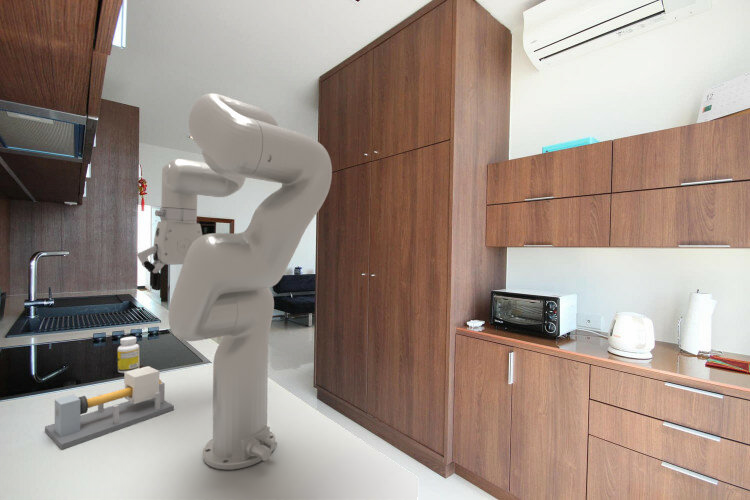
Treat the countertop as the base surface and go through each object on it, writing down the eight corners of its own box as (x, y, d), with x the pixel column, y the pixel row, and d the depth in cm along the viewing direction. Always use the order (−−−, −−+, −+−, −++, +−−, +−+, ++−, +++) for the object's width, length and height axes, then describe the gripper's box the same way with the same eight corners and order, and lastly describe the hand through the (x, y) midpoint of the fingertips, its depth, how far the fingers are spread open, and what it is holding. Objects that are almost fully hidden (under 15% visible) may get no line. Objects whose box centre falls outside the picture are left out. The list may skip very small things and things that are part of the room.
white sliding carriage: (148, 390, 85) (148, 366, 85) (159, 396, 82) (159, 371, 82) (124, 397, 81) (124, 372, 81) (134, 404, 78) (134, 377, 78)
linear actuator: (152, 397, 88) (152, 368, 88) (173, 409, 82) (174, 378, 82) (44, 431, 72) (45, 396, 72) (61, 449, 66) (61, 411, 66)
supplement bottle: (121, 368, 109) (121, 336, 109) (141, 366, 111) (142, 335, 111) (114, 374, 104) (114, 341, 104) (135, 372, 106) (136, 339, 106)
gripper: (147, 214, 76) (145, 293, 77) (221, 219, 90) (219, 286, 91) (131, 214, 80) (130, 289, 81) (205, 219, 95) (203, 282, 95)
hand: (177, 287), depth 86 cm, fingers open, 9 cm apart
